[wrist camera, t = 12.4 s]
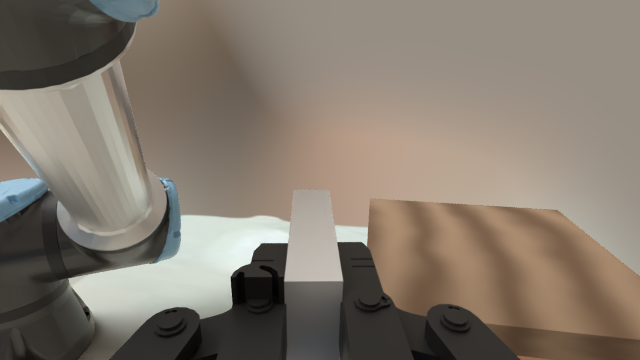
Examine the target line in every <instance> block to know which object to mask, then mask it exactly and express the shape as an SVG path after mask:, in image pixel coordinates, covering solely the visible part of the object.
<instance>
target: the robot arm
mask: <svg viewBox="0 0 640 360" xmlns="http://www.w3.org/2000/svg"><path fill="white" fill-rule="evenodd" d="M159 5H160V0H0V129H1V130H2V132H3V133H4V134H5V135H6V137H7V138H8V139H9V140H10V141H11V143H12V144H13V145H14V146H15V148H16V149H17V150H18V151H19V153H20V154H21V155H22V156H23V157H24V159H25V160H26V161H27V162H28V164H29V165H30V166H31V167H32V168H33V169H34V171H35V172H36V173H37V175H38V176H39V177H40V178H41V179H42V180H41V179H38V178H33V179H30V178H24V179H16V180H10V181H5V182H0V360H76V359H77V358H78V357H79V356H80V355H81V354H82V353H83V352H84V351H85V350H86V349H87V347H88V346H89V344H90V343H91V341H92V339H93V337H94V334H95V324H94V320H93V315H92V313H91V311H90V309H89V308H88V307H87V306H86V305H85V303H84V302H83V301H82V299H81V298H80V297H79V296H78V294H77V293H76V292H75V291H74V289H73V288H72V287H71V285H70V284H69V280H68V278H72V277H76V276H82V275H87V274H93V273H98V272H104V271H109V270H115V269H120V268H126V267H131V266H137V265H142V264H147V263H149V264H151V263H153V264H154V263H157V262H159V261H162V260H165V259H169V258H172V257H174V256H175V255H176V254H177V252H178V250H179V247H180V241H181V233H180V228H181V218H180V207H179V199H178V193H177V189H176V186H175V184H174V182H173V181H172V180H171V179H167V178H166V179H163V178H160V177H157V176H155V174H153V173H152V172H151V171H149V170H148V169H146V166H145V162H144V158H143V154H142V150H141V146H140V142H139V137H138V133H137V129H136V125H135V121H134V117H133V113H132V109H131V105H130V101H129V97H128V93H127V89H126V85H125V81H124V77H123V73H122V69H121V65H120V61H119V59H120V58H121V57H122V56H123V55H124V53H125V52H126V51H127V49H128V48H129V47H130V44H131V43H132V41H133V38H134V35H135V31H136V22H137V21H139V20H141V19H142V18H144V17H145V18H149V17H152V16H154V15H155V14H156V13H157V12H158V10H159ZM48 188H49V189H50V190H51V191H49V190H48ZM231 289H232V302H233V305H232V309H230V310H229V311H227V312H225V313H223V314H220V315H216V316H213V317H209V318H205V319H200V318H199V315H198V314H197V313H196V312H195V311H194V310H192V309H189V308H185V307H175V308H171V309H166V310H164V311H161V312H159V313H157V314H155V315H153V316H152V317H151V318H150V319H148V320H147V321H146V322H145V323H144V324H143V325H142V326H141V327H140V328H139V329H138V330H137V331H136V332H135V333H134V334H133V335H132V336H131V337H130V339H129V340H128V341H127V342H126V343H125V344H124V345H123V346H122V347H121V348H120V349H119V350H118V351H117V352H116V353H115V354H114V355H113V356H112V357H111V358H110V359H109V360H520V359H519V358H518V357H517V356H516V355H515V354H514V353H513V352H512V351H511V350H510V349H509V348H508V347H507V346H506V345H505V344H504V343H503V342H502V341H501V340H500V339H499V338H498V337H497V336H496V335H495V334H494V333H493V332H492V331H491V330H490V329H489V328H488V327H487V326H486V325H485V324H484V323H483V322H482V321H481V320H480V319H479V318H478V317H477V316H476V315H475V314H473V313H472V312H471V311H469V310H467V309H465V308H463V307H460V306H457V305H452V304H438V305H436V306H433V307H431V308H430V309H429V311H428V312H427V316H422V315H417V314H413V313H409V312H406V311H403V310H401V309H399V308H397V307H395V304H394V302H393V300H392V299H391V297H390V296H388V295H387V294H385V293H384V292H383V289H382V285H381V282H380V279H379V276H378V273H377V270H376V267H375V264H374V261H373V257H372V254H371V251H370V249H369V248H368V247H366V246H365V245H364V244H363V243H362V242H337V239H336V232H335V226H334V220H333V214H332V207H331V201H330V194H329V190H294V195H293V205H292V213H291V223H290V232H289V241H288V243H262V244H261V245H260V246H259V247H258V248H257V249H256V250H255V251H254V253H253V257H252V262H251V264H248V265H245V266H242V267H240V268H239V269H237V270H236V271H235V272H234V273H233V274H232V276H231Z"/></svg>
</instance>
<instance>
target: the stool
mask: <svg viewBox="0 0 640 360" xmlns="http://www.w3.org/2000/svg"><path fill="white" fill-rule="evenodd" d="M369 210H370V211H369V226H368V241H367V247H368V248H369V249H370V251H371V254H372V257H373V261H374V264H375V267H376V270H377V273H378V276H379V279H380V282H381V285H382V289H383V292H384V293H385V294H387V295H388V296H390V297H391V299H392V300H393V302H394V304H395V307H397V308H399V309H401V310H403V311H406V312H409V313H413V314H417V315H422V316H427V312H428V311H429V309H430V308H431V307H433V306H436V305H438V304H452V305H457V306H460V307H463V308H465V309H467V310H469V311H471V312H472V313H473V314H475V315H476V316H477V317H478V318H479V319H480V320H481V321H482V322H483V323H484V324H485V325H486V326H487V327H488V328H489V329H490V330H491V331H492V332H493V333H494V334H495V335H496V336H497V337H498V338H499V339H500V340H501V341H502V342H503V343H504V344H505V345H506V346H507V347H508V348H509V349H510V350H511V351H512V352H513V353H514V354H515V355H516V356H524V357H533V358H541V359H550V360H640V276H639V275H638V274H636V273H635V272H634V271H633V270H631V269H630V268H628V266H626V265H625V264H624V263H622V262H621V261H620V260H619V259H617V258H616V257H615V256H614V255H613V254H611V253H610V252H609V251H608V250H606V249H605V248H604V247H603V246H601V245H600V244H599V243H598V242H596V241H595V240H594V239H593V238H591V237H590V236H589V235H587V234H586V233H585V232H584V231H583V230H581V229H580V228H579V227H578V226H576V225H575V224H574V223H573V222H571V221H570V220H569V219H568V218H567V217H565V216H564V215H563V214H562V213H560V212H559V211H557V210H546V209H531V208H513V207H498V206H482V205H466V204H449V203H433V202H415V201H400V200H399V201H398V200H383V199H370V209H369Z"/></svg>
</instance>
